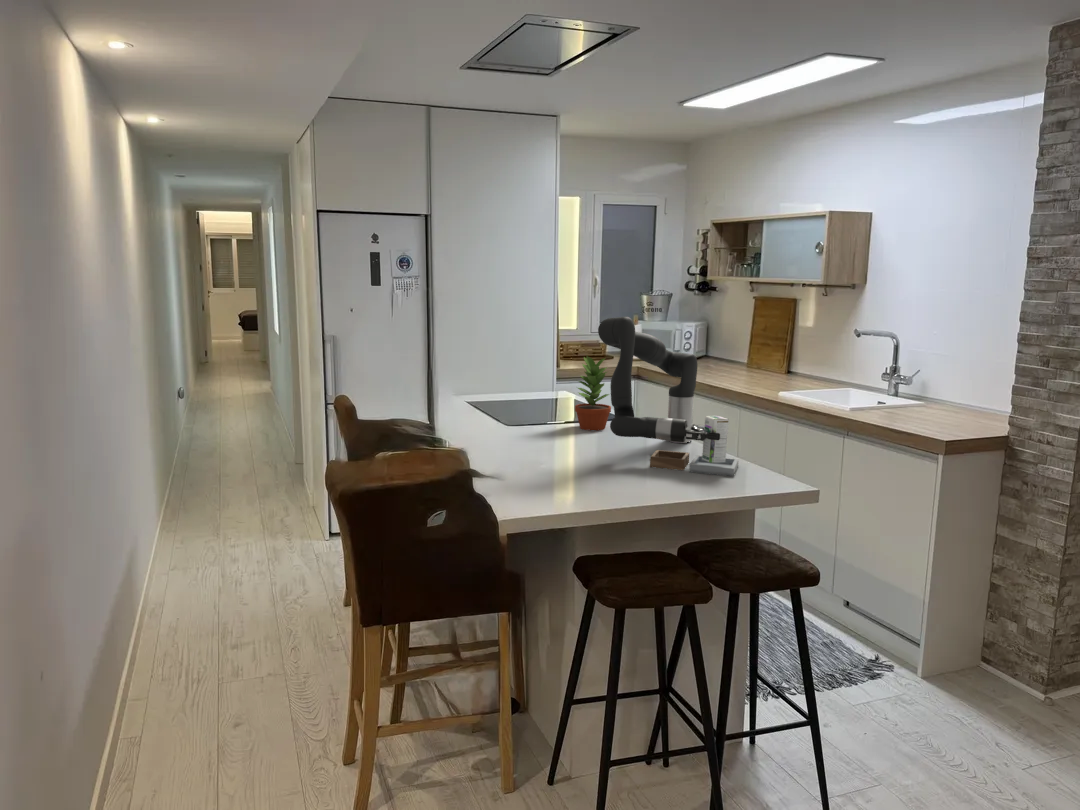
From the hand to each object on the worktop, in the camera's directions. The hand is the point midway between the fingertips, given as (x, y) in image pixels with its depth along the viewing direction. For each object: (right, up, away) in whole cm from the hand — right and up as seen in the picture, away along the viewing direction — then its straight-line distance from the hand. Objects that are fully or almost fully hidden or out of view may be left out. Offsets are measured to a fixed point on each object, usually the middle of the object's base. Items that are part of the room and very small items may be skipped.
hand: (721, 434), depth 262 cm
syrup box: (-2, -9, +2) cm, 9 cm away
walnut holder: (-16, -10, +7) cm, 20 cm away
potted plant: (-37, 0, +67) cm, 77 cm away
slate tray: (-2, -11, +3) cm, 12 cm away
